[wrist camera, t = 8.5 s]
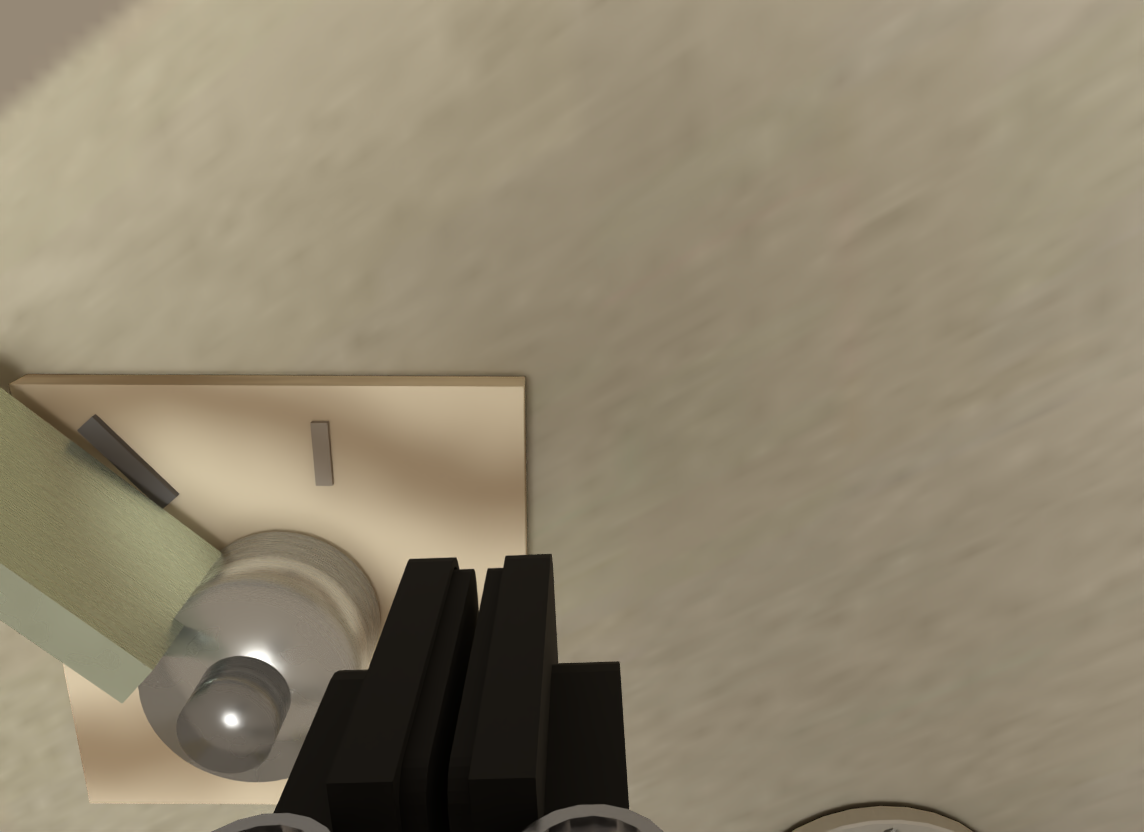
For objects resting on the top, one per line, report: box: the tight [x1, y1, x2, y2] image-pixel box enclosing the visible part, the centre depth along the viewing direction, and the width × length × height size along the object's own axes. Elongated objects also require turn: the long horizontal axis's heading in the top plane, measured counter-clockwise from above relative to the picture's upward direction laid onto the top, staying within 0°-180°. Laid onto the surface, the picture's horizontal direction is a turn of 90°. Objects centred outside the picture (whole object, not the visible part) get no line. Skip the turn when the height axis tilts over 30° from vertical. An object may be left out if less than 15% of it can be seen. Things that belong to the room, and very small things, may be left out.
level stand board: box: [9, 374, 527, 804], centre depth 38 cm, size 18×18×2 cm
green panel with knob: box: [0, 387, 380, 782], centre depth 32 cm, size 18×7×8 cm, turn 47°
